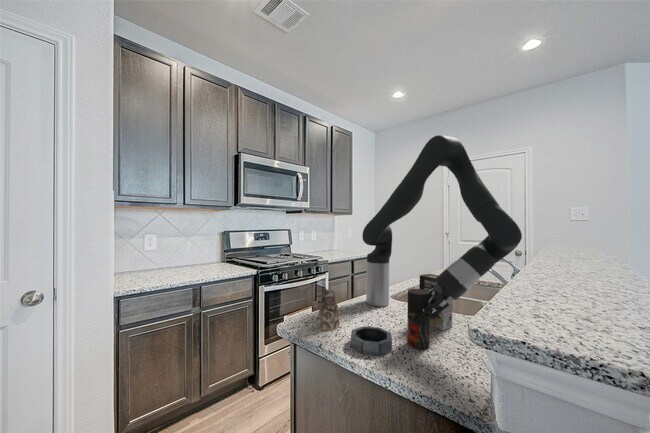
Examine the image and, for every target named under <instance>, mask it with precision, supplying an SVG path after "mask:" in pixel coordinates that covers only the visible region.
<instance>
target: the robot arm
mask: <svg viewBox="0 0 650 433" xmlns="http://www.w3.org/2000/svg"><path fill="white" fill-rule="evenodd" d="M471 161H472V160H471V159H470V157H469V155H468V152H467V150H466V148H465V146H464V145H463V143H462V141H461V140H460V139H458V138H456V137H452V136H448V135H441V134H439V135H435V136H433V137H431V138H430V139H429V140H428V141H427V142H426V143H425V145H424V146H423V147H422V150H421V152H420V153H419V155H418V157H417V158H416V160H415V161H414V163H413V165H412V166H411V168H410V169H409V170H408V172H407V173H406V175H405V176H404V178H402V181H401V182H400V183H399V184H398V185H397V187H396V188H395V189H394V191H393V192H392V193H391V195H390V196H389V198H388V199H387V200H386V202H385V203H384V205H382V207H381V208H380V209H379V210H378V212H377V213H376V214H375V215H374V216H373V217H372V218H371V220H369V221H368V223H366V225H365V227H364V228H363V230H362V234H361V235H362V241H363V243H364V244H366V245H367V246H375V247H374V249H373V250H372V251H371V252H370V253H368V254H367V255H366V288H365V290H366V294H365V296H366V297H365V298H366V299H365V300H366V304H367V305H368V306H369V305H370V306H371V307H372V306H373V307H387V306H389V304H390V258H391V256H392V246H393V231H392V228H391V224H394V223H395V222H396V221H398V220H400V219H402V218H404V217H405V216H406V215H408V214H409V213H411V211H412V210H413V209H414V208H415V207H416V206H417V204H419V202H420V200H421V199H422V197H423V194H424V189H425V185H426V182H427V180H428V179H429V177H430V176H431V175H432V174H433V172H434V171H436V169H438V167H446V168H447V169H448V170H449V171H450V172H451V173H452V174H453V176H454V177H455V179H456V181H457V183H458V186H459V191H460V196H461V197H462V198H461V199H462V201H463V203H464V204H465V207H466V208H467V209H468V211H469V212H470V214H471V215H472V216H473V218H474V219H475V220H476V221H477V222H478V223H480V224H481V226H482V227H483V228H484V229H485V231H486V234H487V236H486V237H485V238H484V239H483V240H481V241H480V242H479V243H478V244H477V245H475V246H472V247H471V248H469V249H468V250H467V251H466V252H465V253H463V254H462V256H460V257H459V258H458V259H455V261H454V262H452V263H451V264H450V265H449V266H447V267H446V268H445V269H444V270H443V271H442V272H441V273H440V274H438V275H439V276H438V277H436V278H435V281H436V282H437V283H438V284H439V285H438V286H436V287H434V286H433V285H431V286H430V287H429V288H428V289H427V291H429V292H430V297H429V299H428V300H427V301H426V303H425V304H426V305H425V306H424V308H423V309H422V311H420V312H419V313H418V314H416V315H415V316H414V317H413V318H412V322H413V323H414V324H415V325H416V326H418V325H419V324H421V323H422V322H423V321H424V320H425V319H426V318H427V317H428V318H431V319H433V318H434V317H435V316H436V315H438V314H439V313H440V312H441V311H443V310H444V309H445V308H446V307H448V306H449V303H448V302H447V299H448V298H449V297H452V298H453V301H457V300H458V299H459V298H460V297H462V296H463V295H464V294H465V293H466V292H467V291H469V290H470V289H471V288H472V287H474V285H475V284H477V282H478V281H479V280H480V279H481V278H482V277H483V276H484V275H486V274H487V273H489V271H490V270H491V269H492V268H493V267H494V266H495V265H496V264H497V263H499V261H501V260H503V259H504V258H506V257H507V256H508V255H509V254H510V253H512V252H513V251H514V250H515V249H516V248H517V247H518V246H519V244H520V243H521V241H522V238H523V235H522V231H521V228H520V227H519V226H518V224H517V223H516V221H515V220H514V219H513V218H512V217H511V216H510V215H509V214H508V213H507V212H506V211H505V210H504V209H503V208H502V207H501V206H500V204H499V203H498V202H497V200H496V198H495V197H494V196H493V195H492V193H491V192H490V190H489V189H488V187H487V186H486V184H484V182H483V180H482V179H481V177H480V176H479V174H478V172H477V171H476V168H475V167H474V165H473V162H471ZM430 310H431V311H430Z"/></svg>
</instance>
